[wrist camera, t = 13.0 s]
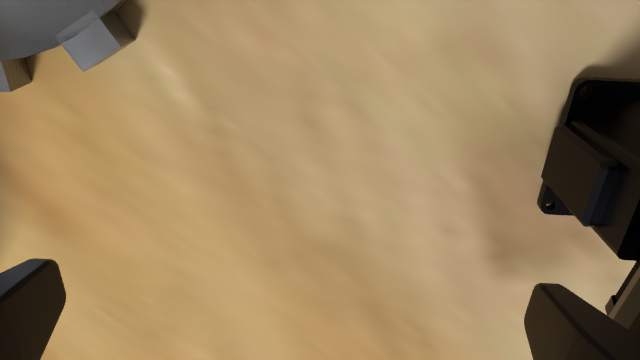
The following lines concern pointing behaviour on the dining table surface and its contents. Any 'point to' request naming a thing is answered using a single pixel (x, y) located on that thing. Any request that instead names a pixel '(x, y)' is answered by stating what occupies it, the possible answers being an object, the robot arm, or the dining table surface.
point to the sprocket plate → (57, 34)
